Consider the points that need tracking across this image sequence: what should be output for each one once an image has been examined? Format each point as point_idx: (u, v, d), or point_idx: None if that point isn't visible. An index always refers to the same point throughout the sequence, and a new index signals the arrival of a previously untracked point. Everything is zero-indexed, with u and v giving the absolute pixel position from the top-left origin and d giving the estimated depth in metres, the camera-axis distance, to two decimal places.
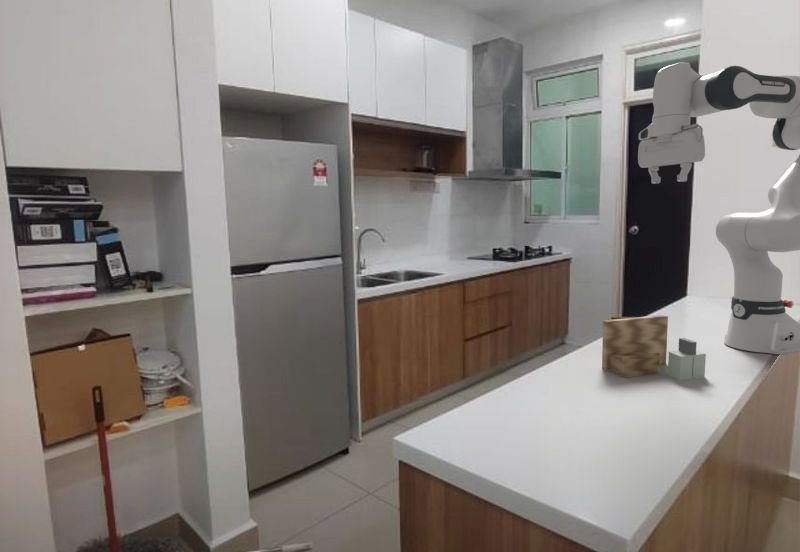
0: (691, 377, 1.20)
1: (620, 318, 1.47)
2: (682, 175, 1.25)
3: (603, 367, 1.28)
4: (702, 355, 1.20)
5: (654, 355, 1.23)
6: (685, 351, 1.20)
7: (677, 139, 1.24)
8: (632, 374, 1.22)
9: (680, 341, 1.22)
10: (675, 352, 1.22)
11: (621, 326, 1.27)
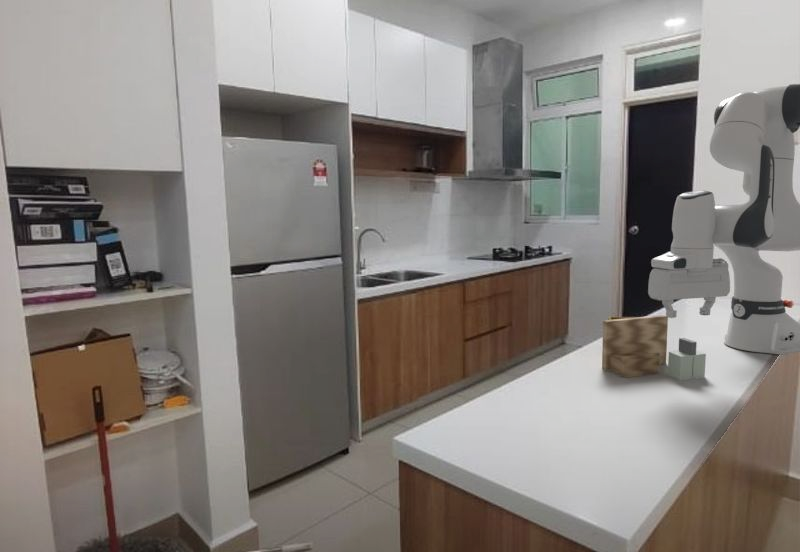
0: (691, 377, 1.20)
1: (620, 318, 1.47)
2: None
3: (603, 367, 1.28)
4: (702, 355, 1.20)
5: (654, 355, 1.23)
6: (685, 351, 1.20)
7: (713, 273, 1.17)
8: (632, 374, 1.22)
9: (680, 341, 1.22)
10: (675, 352, 1.22)
11: (621, 326, 1.27)
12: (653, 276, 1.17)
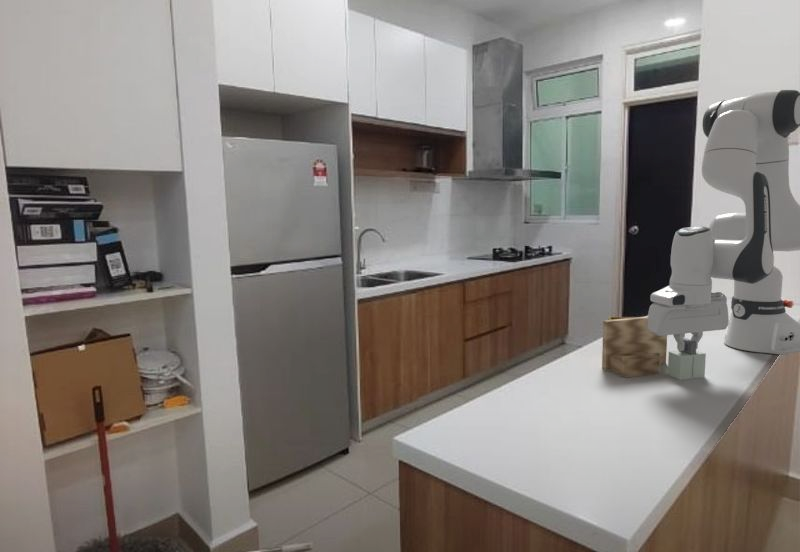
0: (691, 377, 1.20)
1: (620, 318, 1.47)
2: None
3: (603, 367, 1.28)
4: (702, 355, 1.20)
5: (654, 355, 1.23)
6: (685, 351, 1.20)
7: (711, 307, 1.18)
8: (632, 374, 1.22)
9: None
10: (675, 351, 1.22)
11: (621, 326, 1.27)
12: (652, 311, 1.18)
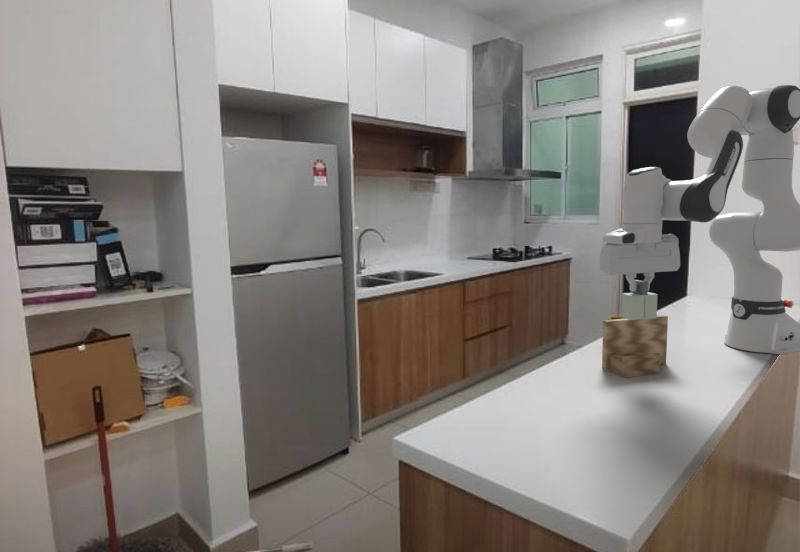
0: (643, 317, 1.21)
1: (620, 318, 1.47)
2: None
3: (603, 367, 1.28)
4: (654, 295, 1.20)
5: (654, 355, 1.23)
6: (637, 292, 1.21)
7: (662, 248, 1.19)
8: (632, 374, 1.22)
9: None
10: (627, 293, 1.23)
11: (621, 326, 1.27)
12: (604, 251, 1.19)
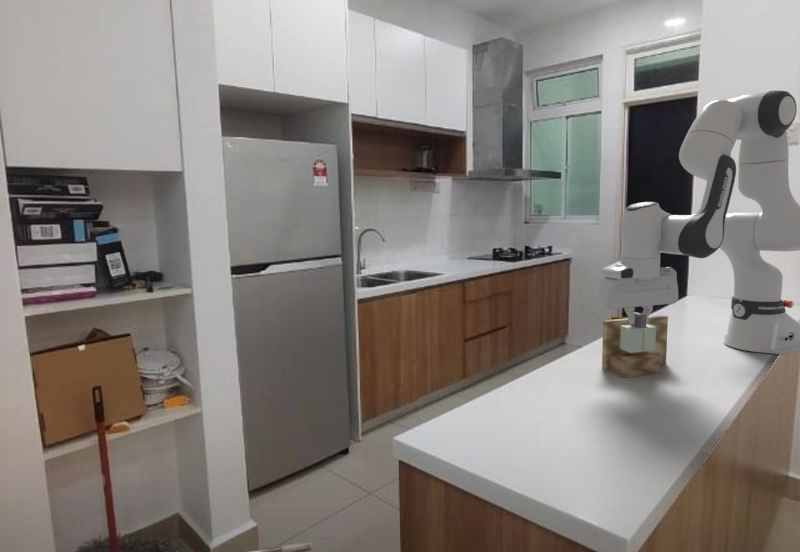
0: (642, 350, 1.22)
1: (620, 318, 1.47)
2: None
3: (603, 367, 1.28)
4: (652, 328, 1.22)
5: (654, 355, 1.23)
6: (636, 324, 1.23)
7: (660, 281, 1.21)
8: (632, 374, 1.22)
9: None
10: (626, 325, 1.24)
11: None
12: (603, 285, 1.20)
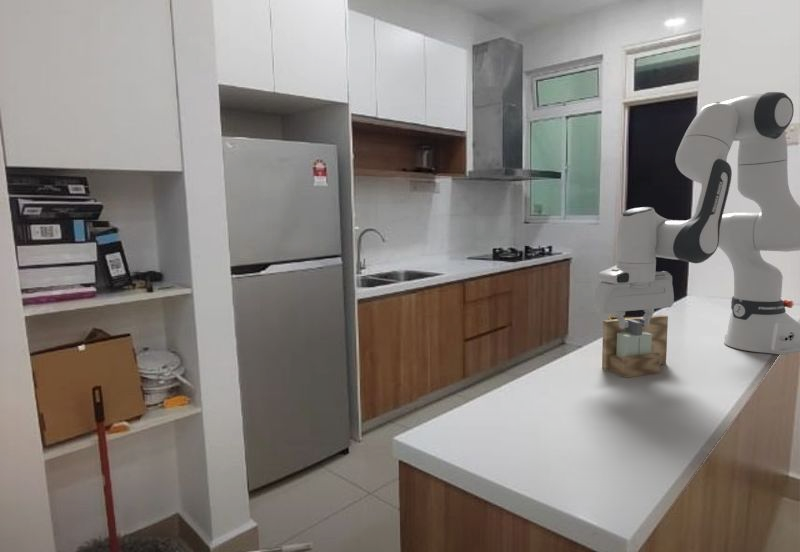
0: None
1: None
2: None
3: (603, 367, 1.28)
4: (648, 335, 1.23)
5: (654, 355, 1.23)
6: (632, 332, 1.24)
7: (656, 285, 1.22)
8: (632, 374, 1.22)
9: (628, 322, 1.26)
10: (622, 333, 1.26)
11: None
12: (599, 289, 1.22)
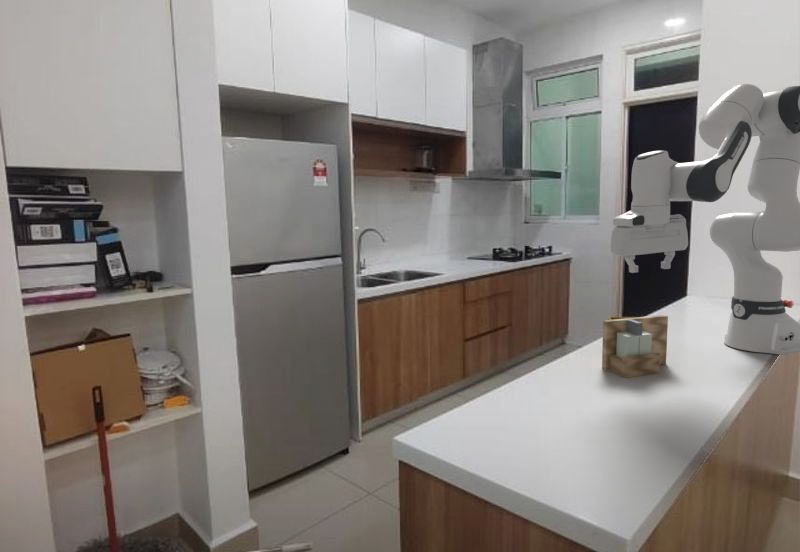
0: None
1: (620, 318, 1.47)
2: None
3: (603, 367, 1.28)
4: (648, 335, 1.23)
5: (654, 355, 1.23)
6: (632, 332, 1.24)
7: (671, 228, 1.24)
8: (632, 374, 1.22)
9: (628, 322, 1.26)
10: (622, 333, 1.26)
11: (621, 326, 1.27)
12: (615, 234, 1.24)
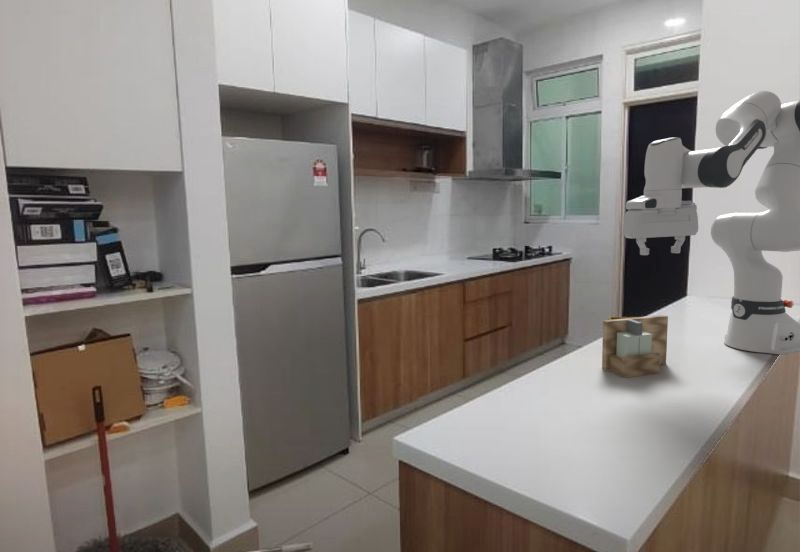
0: None
1: (620, 318, 1.47)
2: None
3: (603, 367, 1.28)
4: (648, 335, 1.23)
5: (654, 355, 1.23)
6: (632, 332, 1.24)
7: (682, 213, 1.28)
8: (632, 374, 1.22)
9: (628, 322, 1.26)
10: (622, 333, 1.26)
11: (621, 326, 1.27)
12: (627, 217, 1.28)
